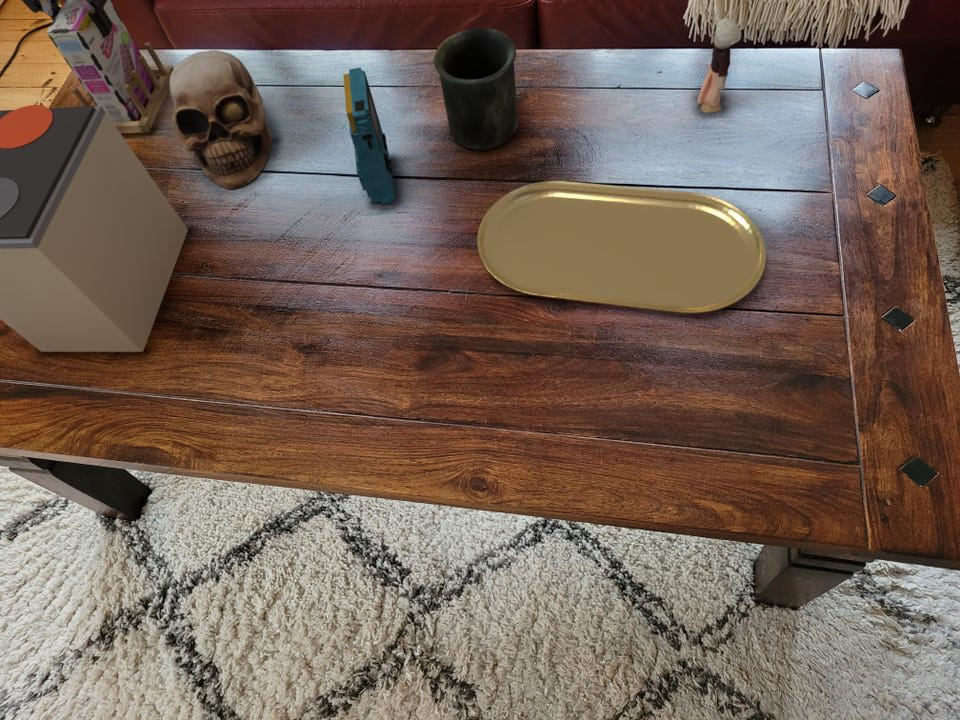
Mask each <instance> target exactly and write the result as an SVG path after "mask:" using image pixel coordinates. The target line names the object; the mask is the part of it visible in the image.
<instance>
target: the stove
mask: <svg viewBox="0 0 960 720" xmlns="http://www.w3.org/2000/svg"><path fill="white" fill-rule="evenodd" d="M188 231H189V229H188V227H187V226H186V224H185V223H184V221H183V220H182V218H180V216H179V214H178V213H177V212H176V210H175V208H173V206H172V205H171V203H170V202H169V201H168V199H167V197H166V196H165V195H164V193H163V192H162V190H161V188H159V186H158V185H157V183H156V182H155V181H154V179H153V178H152V176H151V175H150V173H149V172H148V170H147V169H146V168H145V166H144V164H143V163H142V162H141V161H140V159H139V158H138V156H137V155H136V153H135V152H134V151H133V150H132V148H131V146H130V145H129V144H128V142H127V140H126V139H125V138H124V136H123V135H122V133H121V134H120V132H119V131H118V129H117V128H116V127H115V125H114V124H113V122H112V121H111V120H110V118H109V117H108V115H107V114H106V113H105V111H104V110H103V108H102V107H97V106H93V105H90V106H83V105H82V106H65V107H47V106H44V105H41V104H30V105H26V106H25V105H24V106H21V107H19V108H16V109H4V110H0V320H1V321H2V322H3V323H4V324H6V325H7V326H8V327H9V328H11V329H12V330H13V331H15V332H16V333H17V334H18V335H19V336H21V337H22V338H24V339H25V341H27V342H29V343H30V344H31V345H32V346H34V348H36V349H37V350H38V351H40V352H42V353H143V352H144V350H145V349H146V345H147V342H148V339H149V337H150V334H151V331H152V329H153V326H154V324H155V320H156V319H157V315H158V313H159V310H160V307H161V304H162V301H163V299H164V296H165V294H166V291H167V289H168V285H169V283H170V280H171V277H172V276H173V275H172V274H173V272H174V269H175V266H176V263H177V262H178V259H179V256H180V253H181V251H182V248H183V245H184V243H185V240H186V237H187V234H188Z"/></svg>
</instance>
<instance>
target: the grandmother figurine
mask: <svg viewBox="0 0 960 720" xmlns="http://www.w3.org/2000/svg"><path fill="white" fill-rule="evenodd" d="M741 39H742V31H741V30H740V27H739V25H738V23H737V22H736V21H735V20H733V19H730V18H728V17H727V18H725V17H724V18H722V19H720V20H719V21H718V22H717V24H716V27H715V32H714V36H713V39H712V41H713V44H714V46H713V47H712V48H713V49H712V53H711V62H710V65H709V68H708V71H707V73H706V75H705V77H704V81H703V83H702V85H701V88H700V91H699V93H698V96H697V99H696V100H697V103H698V104H699V105H700V110H701V112H702V113H704V114H711V113H712V114H713V113H718V112H721V110H722V105H721V103H720V102H721V97H722V96H721V94H722V91H723V90H724V89H725V87H726V82H727V78H728V76H729V68H730V65H731V46H733V45H734V44H737V43H739V42H740V40H741Z"/></svg>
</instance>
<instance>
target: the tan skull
mask: <svg viewBox="0 0 960 720" xmlns="http://www.w3.org/2000/svg"><path fill="white" fill-rule="evenodd" d="M173 68H174V69H173V71H172V73H171V76H170V82H169V87H170V88H169V93H170V97H171V100H172V102H173V104H174V105H173V106H174V107H173V109H172V127H173V132H174V136H175V137H176V139H177V141H178V142H179V144H180V145H181V147H182V148H183V149H184V150H185V151H187V153H188V152H189V153H193V155H194V157H195V159H196V162H197V164H198V166H199V167H200V169H201V170H202V172H203V174H205V175H206V177H207V179H209V180H210V182H212V183H214V184H215V185H218V186H219V187H220V186H221V187H223V188H224V189H228V190H233V189H236V188H241V187H243V186H246V185H248V184H250V183H251V182H252V181H253V180H254V179H256V178H257V177H258V176H259V175H260V174H261V172H263V171H262V170H263V169H264V167H265V165H266V162H267V160H268V157H269V156H270V153H271V151H270V150H271V148H272V147H273V146H272V145H273V141H272V139H273V138H272V135H271V132H270V129H269V127H268V124H267V121H266V109H265V107H264V101H263V98H262V96H261V94H260V93H261V92H260V91H259V88H258V86H257V85H256V84H255V81H254V79H253V77H252V75H251V74H250V72H249V71H248V69H247V67H246V66H245V65H244V64H243V62H242V60H241V59H239V58H238V57H237V56H235V55H233V54H231V53H228V52H226V51H223V50H218V49H211V50H206V51H199V52H196V53H192V54H191V55H188V56H186V57H185V58H184V59H182V60H181V61H180V62H179V63H177V64H176V65H175V67H173Z"/></svg>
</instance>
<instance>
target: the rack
mask: <svg viewBox="0 0 960 720" xmlns="http://www.w3.org/2000/svg"><path fill="white" fill-rule="evenodd" d="M144 47H145V49H146V50H147V52H148V54H149V56H150V57H151V59H152V61H153V62H154V64H155V65H152V66H150V64H149V63H148V61H147V60H146V58H145V56H144V55H143V54H141V56H139V57H138V60H139V61H140V63H141V65H142V66H143V68H144V69H145V71H146V73H147V74H148V76H149V78H150V79H151V81H152V83H153V84H154V88H153V90H152V91H153V92H151V93H150V92H149V90H148V88H147V87H146V85H145V84H144V82H143V80H142V79H141V77H140V76H139V74H138V72H137V71H136V70H132V71H131V74H132V76H133V77H134V79H135V80H136V82H137V84H138V85H139V87H140V88H141V90H142V92H143V93H144V95H145V96H146V98H147V99H148V100H147V103H146V106H145V107H143V105H142V104H141V102H140V101H139V99H138V97H137V96H136V94H135V93H134V91H133V90H132V88H131V86H130V85H129V84H125V85H124V88H125V90H126V92H127V93H128V95H129V96H130V98H131V99H132V101H133V102H134V104H135V105H136V107H137V108H138V110H139V111H140V113H141V116H140V119H139V121H130V122H113V124H114V125H115V127H116V128H117V129H118V131H119V132H120V134H121V135H122V134H140V133H142V134H143V133H145V134H146V133H150V132H151V130H152V128H153V126H154V123H155V121H156V119H157V116H158V114H159V112H160V110H161V108H162V106H163V103H164V101H165V99H166V97H167V94H168V92H169V91H170V87H169V82H170V76H171V73H172V71H173V69H174V68H175V67H173V65H172V64H169V65H168V64H167V65H164V64H163V63H162V61H161V60H160V57H159V56H158V53H156V51H155V49H154V47H153V46H152V44H151V42H150V41H146V42H145V43H144ZM158 78H159V79H158ZM70 91H71V92H72V93H73V95H74V96H75V97H76V99H77V100H78V102H79V103H80V104H81V106H82V107H83V106H91V104H89V102H88V101H87V100H86V98H85V97H84V95H83V94H82V92H81V91H80V89H79V88H78V87H77V86H72V87H71V88H70Z"/></svg>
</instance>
